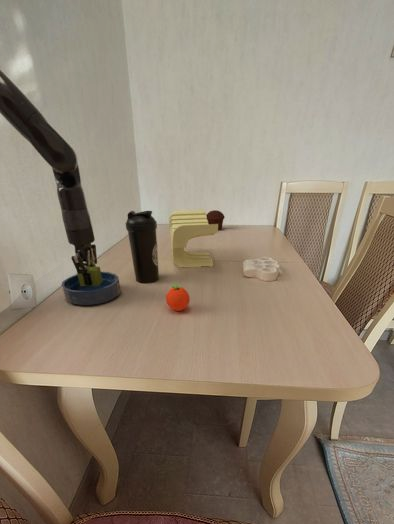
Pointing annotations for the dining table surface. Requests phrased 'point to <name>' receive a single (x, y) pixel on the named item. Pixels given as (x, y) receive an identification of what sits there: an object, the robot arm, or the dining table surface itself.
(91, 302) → the bowl
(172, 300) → the clementine
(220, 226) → the muffin
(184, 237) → the slatted curved stool
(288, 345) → the dining table surface
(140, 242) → the water bottle
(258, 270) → the white lobed compartment tray
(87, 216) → the robot arm
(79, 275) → the sponge
